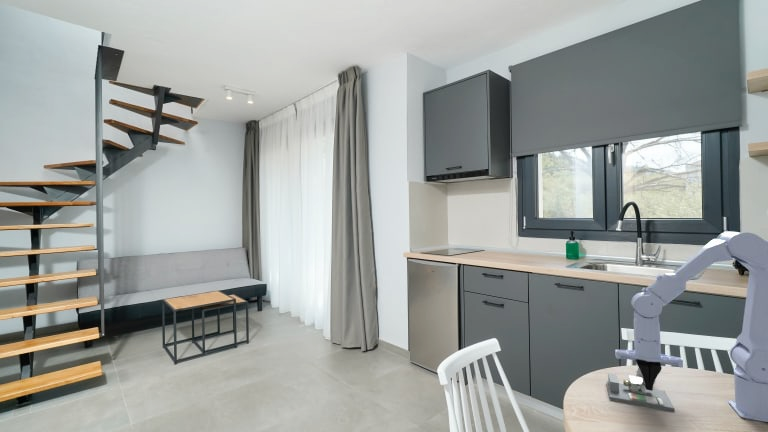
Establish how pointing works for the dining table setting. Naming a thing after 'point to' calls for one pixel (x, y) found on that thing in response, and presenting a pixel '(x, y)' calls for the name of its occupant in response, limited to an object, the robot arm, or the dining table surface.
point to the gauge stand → (637, 395)
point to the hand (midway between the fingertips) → (648, 388)
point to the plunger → (635, 384)
